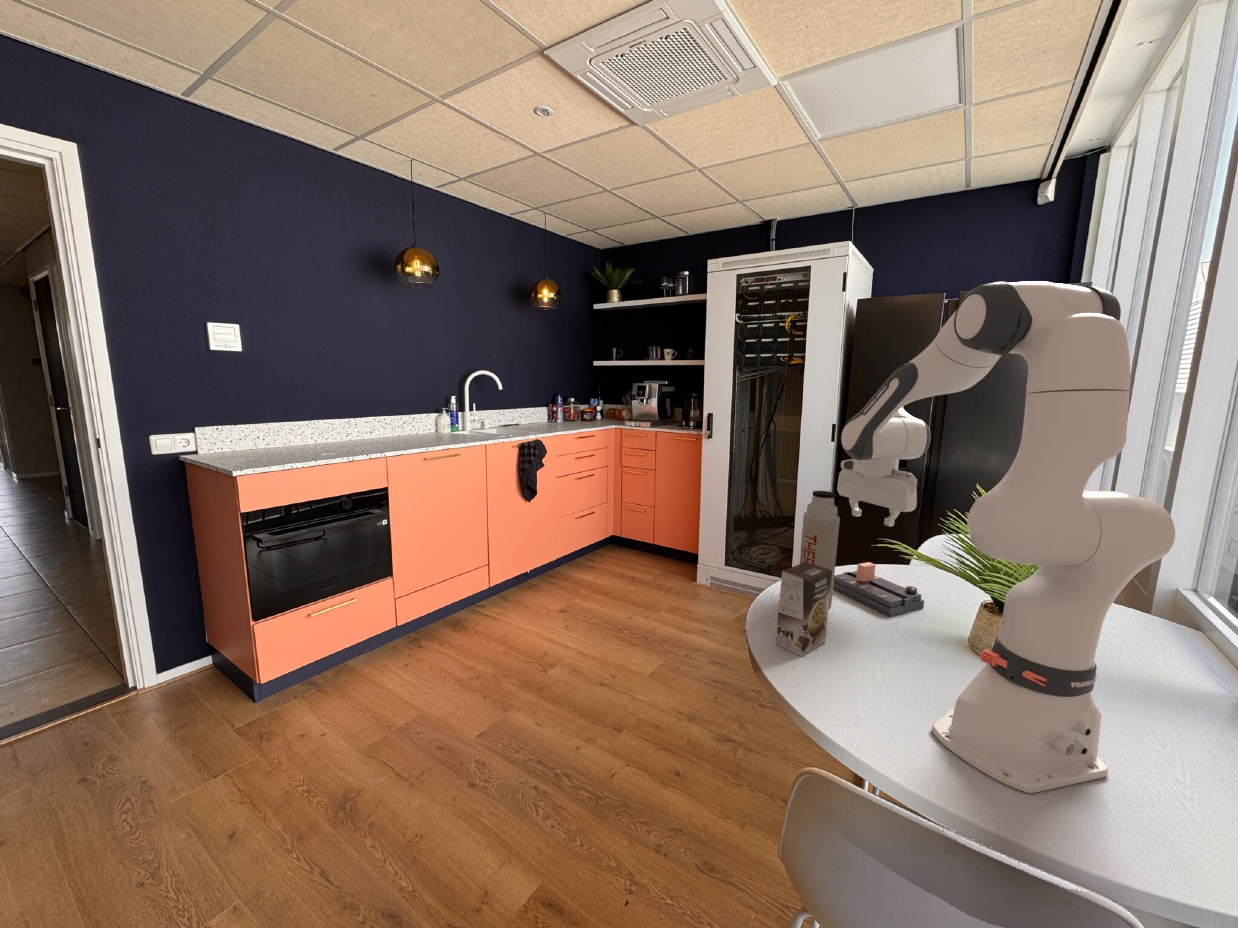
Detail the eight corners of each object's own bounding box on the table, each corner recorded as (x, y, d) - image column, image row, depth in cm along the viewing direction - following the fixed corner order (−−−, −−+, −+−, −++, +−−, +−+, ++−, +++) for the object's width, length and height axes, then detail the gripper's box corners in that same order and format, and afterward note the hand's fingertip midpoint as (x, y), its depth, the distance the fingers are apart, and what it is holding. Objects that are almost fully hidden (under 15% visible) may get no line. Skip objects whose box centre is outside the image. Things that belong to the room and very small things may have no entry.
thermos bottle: (810, 613, 119) (820, 496, 114) (789, 598, 127) (798, 489, 122) (838, 609, 122) (849, 495, 117) (816, 595, 129) (826, 487, 124)
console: (889, 617, 118) (891, 599, 117) (828, 587, 134) (829, 571, 133) (923, 608, 123) (925, 591, 122) (860, 580, 139) (862, 565, 138)
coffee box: (802, 657, 100) (809, 580, 97) (774, 644, 105) (780, 570, 102) (826, 643, 106) (833, 569, 103) (798, 631, 111) (804, 560, 108)
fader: (862, 587, 129) (864, 566, 128) (855, 584, 131) (857, 563, 130) (873, 585, 131) (875, 564, 130) (866, 582, 132) (868, 561, 131)
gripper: (926, 473, 118) (919, 530, 120) (852, 459, 136) (848, 509, 138) (908, 474, 115) (901, 533, 117) (835, 460, 133) (831, 512, 136)
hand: (872, 520), depth 128 cm, fingers open, 8 cm apart
